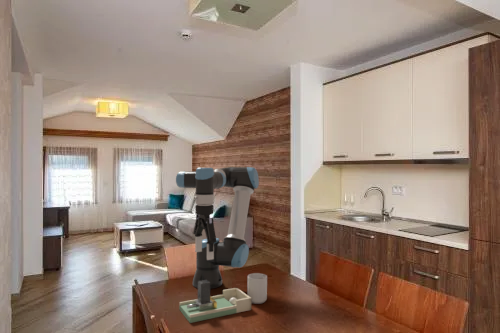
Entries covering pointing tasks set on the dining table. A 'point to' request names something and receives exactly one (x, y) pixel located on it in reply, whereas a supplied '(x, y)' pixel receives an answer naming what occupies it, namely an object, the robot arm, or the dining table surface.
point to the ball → (233, 301)
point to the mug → (257, 288)
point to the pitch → (218, 306)
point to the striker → (203, 297)
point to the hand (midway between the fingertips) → (204, 255)
